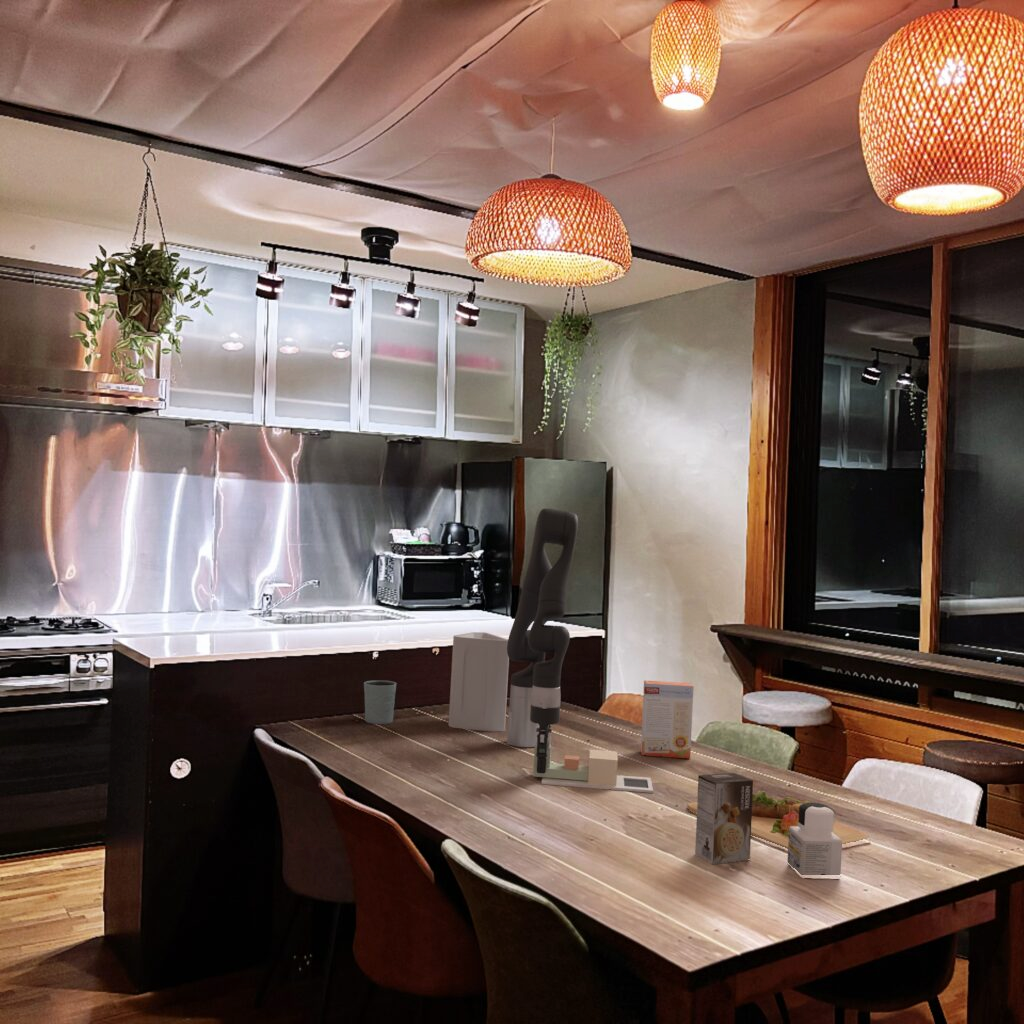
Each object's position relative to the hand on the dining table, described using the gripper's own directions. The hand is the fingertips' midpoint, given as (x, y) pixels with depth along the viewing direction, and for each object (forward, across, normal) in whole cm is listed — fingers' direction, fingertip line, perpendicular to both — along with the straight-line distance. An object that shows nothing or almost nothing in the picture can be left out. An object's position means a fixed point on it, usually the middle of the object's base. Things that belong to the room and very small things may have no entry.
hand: (541, 769), depth 245 cm
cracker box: (+2, -35, +33) cm, 48 cm away
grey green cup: (+2, -51, -55) cm, 75 cm away
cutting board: (+3, +24, +54) cm, 59 cm away
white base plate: (+2, 0, +14) cm, 14 cm away
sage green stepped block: (+1, 0, +5) cm, 5 cm away
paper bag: (+2, -55, -26) cm, 61 cm away
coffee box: (+2, +49, +39) cm, 63 cm away
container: (+3, +53, +56) cm, 77 cm away
